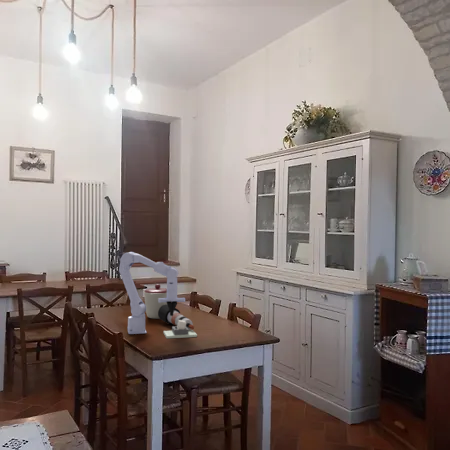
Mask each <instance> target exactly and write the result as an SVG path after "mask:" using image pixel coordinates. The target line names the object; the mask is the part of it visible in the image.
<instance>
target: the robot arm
mask: <svg viewBox="0 0 450 450" xmlns="http://www.w3.org/2000/svg"><path fill="white" fill-rule="evenodd" d="M136 263H137V264H138V263H141V264H144V265H145V266H147V267H150V268H152V269H153V271H154V272H156V273H157V274H160V275H161V276H164V277H166V289H167V298H160V299H158V302H159V303H161V302H166V303H167V305H168V308H169V311H170V316H173V313H174V310H175V308H177V305H178V303H186V298H185V297H178V277H179V270H178V269H177V268H176V267H172V266H171V265H167V264H166V263H164V262H163V261H157V262H155V261H153V260H151V259H150V258H148V257H146V256H143V255H142V254H139V253H136V252H134V251H129V252H125V253H123V254H122V255H121V257H120V258H119V267H118V271H119V272H118V273H119V274H120V277H121V279H122V282H123V284H124V288H125V290H126V293H127V295H128V298H129V300H130V303H129V305H130V312H131V316H128V317H127V333H128V335H134V334H135V335H137V334H138V335H140V334H147V330H146V314H145V313H146V305H145V302H143V300H142V298H141V297H140V294H139V293H138V289H137V287H136V285H135V282H134V279H133V277H132V274H131V271H130V270H131V269H132V266H133V265H134V264H136Z"/></svg>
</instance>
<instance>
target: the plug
mask: <svg viewBox="0 0 450 450" xmlns="http://www.w3.org/2000/svg"><path fill="white" fill-rule="evenodd" d="M185 326H186V322H185V321H183V320H178V325H177V330H180V329H185Z"/></svg>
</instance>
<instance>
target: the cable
mask: <svg viewBox="0 0 450 450" xmlns="http://www.w3.org/2000/svg"><path fill="white" fill-rule="evenodd" d="M158 316H159V318H160V319H159V320H161V321H162V322H164V323H166V324H167V325H169V326H174V325H175V326H177V325H178V320H183V321H185V322H186V327H187V328H188V330H194V328H195V326H194V324H193V321H192V320H191V319H190V318H188V317H186V316H185V315H184V314H182V313H181V312H180V309H178V308H177V307H175V310H174V313H173V316H170V311H169V308H168V305H167V304H165V305H163V306H161V307H160V308H159V311H158Z"/></svg>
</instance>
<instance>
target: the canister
mask: <svg viewBox="0 0 450 450" xmlns="http://www.w3.org/2000/svg"><path fill="white" fill-rule="evenodd" d="M142 292H143V294H144V295H143V296H144V304H145V305H146V311H145V313H146V314H145V315H146V316H147V318H149V319H153V320H156V319H157V320H161V319H160V318H159V316H158V311H159V308H160V307H161V306H163V305H165V304H167V303H166V302H161V303H159V302H158V299H160V298H167V287H166V288H165V287H161V284H159V283H156V284H155V285H154V287H152V288H147V289H144V290H143V291H142Z"/></svg>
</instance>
